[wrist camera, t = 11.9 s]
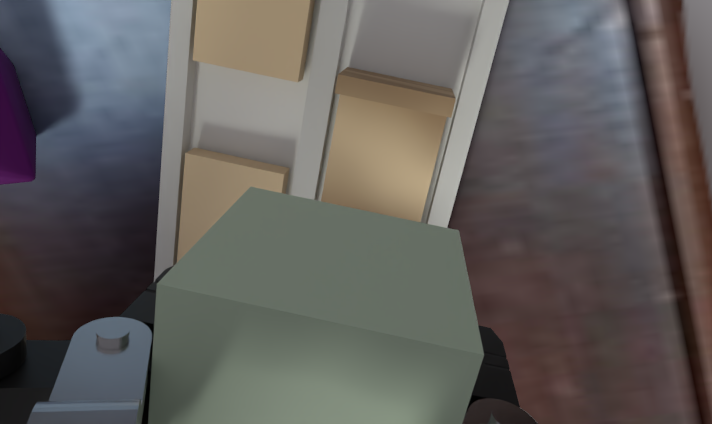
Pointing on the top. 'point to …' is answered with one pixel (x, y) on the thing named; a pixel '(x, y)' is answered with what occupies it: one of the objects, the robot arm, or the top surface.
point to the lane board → (301, 96)
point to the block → (315, 320)
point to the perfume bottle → (15, 129)
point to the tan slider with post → (385, 143)
